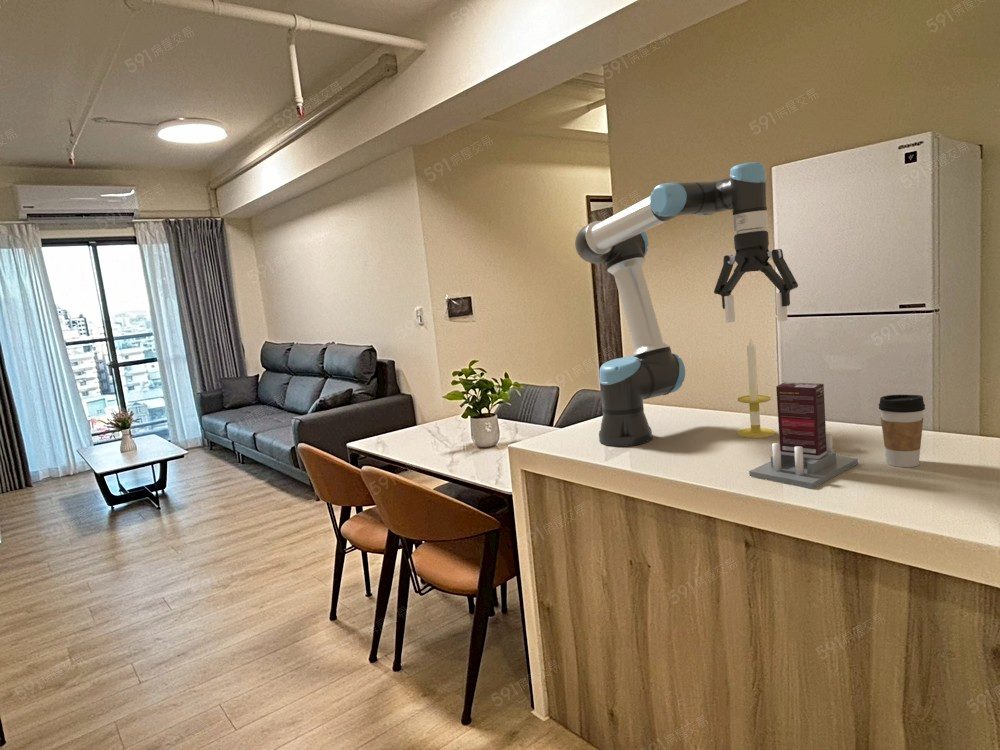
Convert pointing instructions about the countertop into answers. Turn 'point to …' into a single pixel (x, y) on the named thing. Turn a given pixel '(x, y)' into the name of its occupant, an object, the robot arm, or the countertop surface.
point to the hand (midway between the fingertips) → (755, 321)
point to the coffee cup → (902, 428)
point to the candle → (754, 400)
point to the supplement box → (802, 419)
